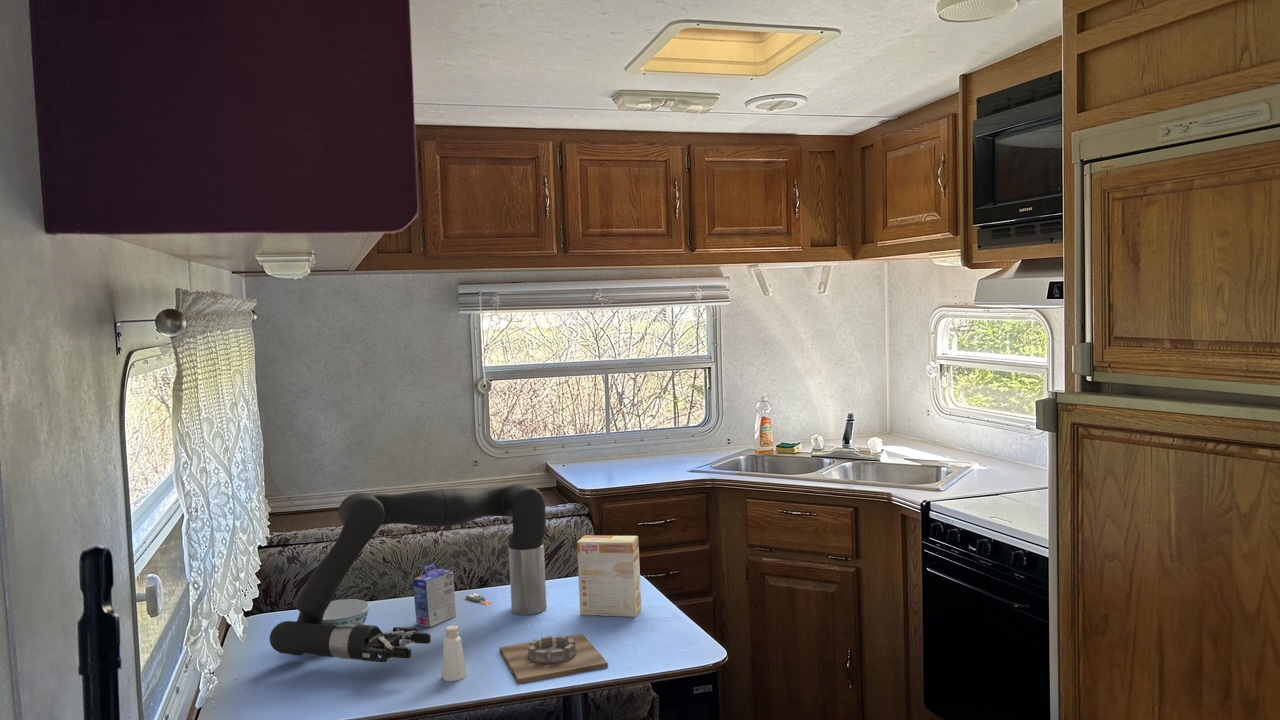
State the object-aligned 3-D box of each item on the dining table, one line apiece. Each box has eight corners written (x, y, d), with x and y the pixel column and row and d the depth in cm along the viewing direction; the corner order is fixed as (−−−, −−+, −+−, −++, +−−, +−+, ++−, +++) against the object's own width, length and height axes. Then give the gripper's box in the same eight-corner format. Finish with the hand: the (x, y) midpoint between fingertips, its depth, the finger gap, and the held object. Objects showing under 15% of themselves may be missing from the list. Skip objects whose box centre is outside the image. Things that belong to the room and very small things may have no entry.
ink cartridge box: (442, 613, 236) (439, 559, 235) (457, 616, 233) (454, 561, 232) (414, 624, 228) (411, 569, 227) (429, 628, 225) (426, 572, 224)
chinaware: (305, 635, 223) (303, 605, 223) (367, 625, 229) (365, 595, 229) (308, 655, 210) (306, 623, 209) (374, 643, 216) (372, 612, 215)
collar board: (499, 651, 207) (499, 636, 207) (582, 637, 214) (581, 622, 214) (518, 683, 188) (517, 667, 188) (607, 667, 195) (607, 651, 195)
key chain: (464, 600, 247) (463, 595, 247) (475, 597, 250) (475, 592, 250) (490, 610, 238) (490, 605, 238) (501, 606, 240) (501, 601, 240)
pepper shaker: (436, 677, 193) (433, 628, 193) (457, 669, 197) (454, 621, 197) (451, 684, 190) (448, 633, 189) (472, 675, 194) (469, 626, 193)
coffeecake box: (642, 608, 233) (638, 535, 232) (635, 617, 226) (632, 542, 225) (587, 606, 236) (584, 534, 235) (579, 615, 229) (576, 541, 228)
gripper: (335, 637, 193) (402, 641, 188) (371, 614, 206) (435, 617, 202) (338, 670, 193) (404, 675, 189) (374, 646, 207) (436, 650, 202)
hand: (420, 645), depth 195 cm, fingers open, 8 cm apart
